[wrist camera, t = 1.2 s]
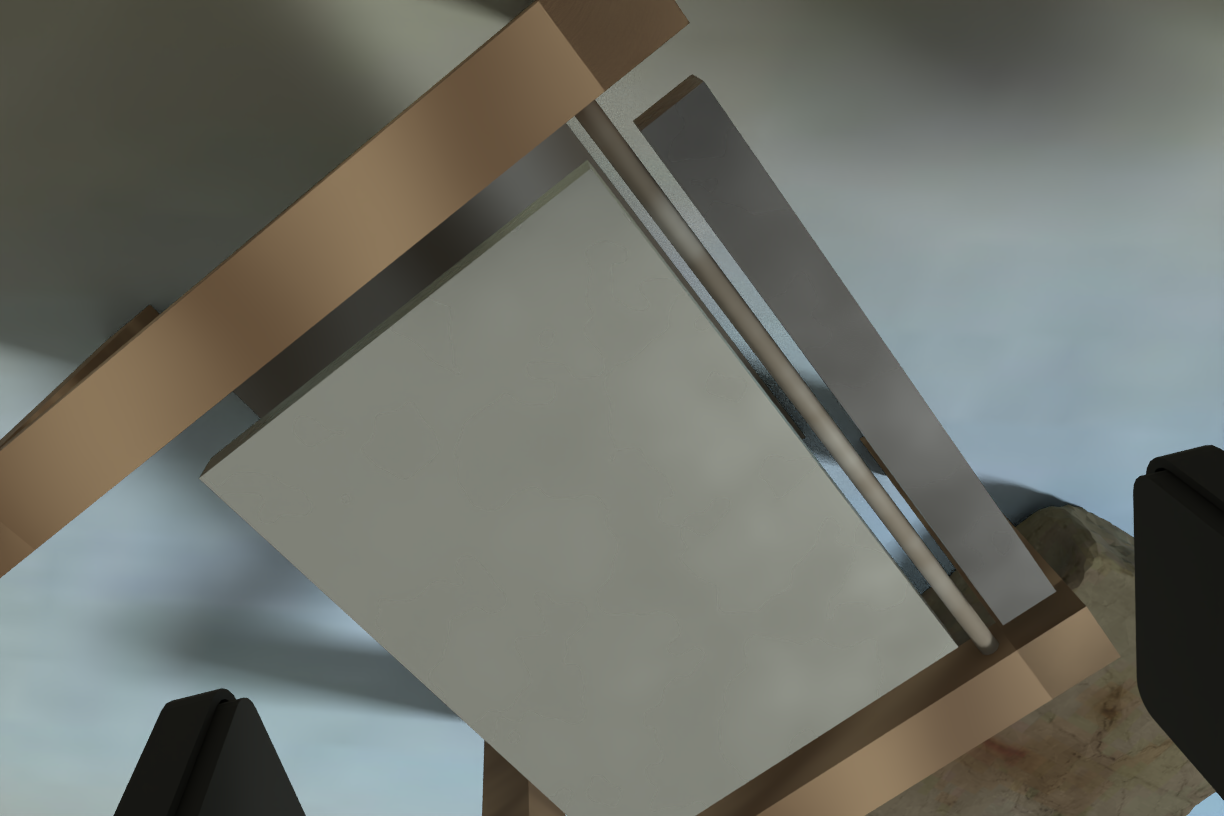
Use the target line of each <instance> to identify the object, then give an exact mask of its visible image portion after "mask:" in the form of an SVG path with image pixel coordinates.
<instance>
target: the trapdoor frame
mask: <svg viewBox="0 0 1224 816" xmlns="http://www.w3.org/2000/svg"><path fill="white" fill-rule="evenodd" d="M689 23H690V22H689V21H688V20H687V18H686V17H685V15H684V14H683V12H682V11H681V9H680V8H679V6H678V5H677V3H676V2H675V0H535V1H534V2H533V3H532V4H531V5H530V6H528V7H527V8H526V9H525V10H524V11H522V12H521V13H520V14H519V15H518V16H516V17H515V18H514V19H513V20H512V21H510V22H509V23H508V24H507V25H506V26H504V27H503V28H502V29H501V30H500V31H498V32H497V33H496V34H495V35H494V36H492V37H491V38H490V39H489V40H488V41H486V42H485V43H484V44H483V45H482V46H480V47H479V48H478V49H477V50H476V51H474V52H473V53H472V54H471V55H470V56H469V57H467V58H466V59H465V60H464V61H463V62H461V63H460V64H459V65H458V66H457V67H455V68H454V69H453V70H452V71H451V72H449V73H448V74H447V75H446V76H445V77H443V78H442V79H441V80H440V81H439V82H437V83H436V84H435V85H434V86H433V87H431V88H430V89H429V90H428V91H427V92H425V93H424V94H423V95H422V96H421V97H419V98H418V99H417V100H416V101H415V102H414V103H412V104H411V105H410V106H409V107H408V108H406V109H405V110H404V111H403V112H402V113H400V114H399V115H398V116H397V117H396V118H394V119H393V120H392V121H391V122H390V123H388V124H387V125H386V126H385V127H384V128H382V129H381V130H380V131H379V132H378V133H376V134H375V135H374V136H373V137H372V138H370V139H369V140H368V141H367V142H366V143H364V144H363V145H362V146H361V147H360V148H358V149H357V150H356V151H355V152H354V153H353V154H351V155H350V156H349V157H348V158H347V159H345V160H344V161H343V162H342V163H341V164H339V165H338V166H337V167H336V168H335V169H333V170H332V171H331V172H330V173H329V174H327V175H326V176H325V177H324V178H323V179H321V180H320V181H319V182H318V183H317V184H315V185H314V186H313V187H312V188H311V189H309V190H308V191H307V192H306V193H305V194H303V195H302V196H301V197H300V198H299V199H297V200H296V201H295V202H294V203H293V204H292V205H290V206H289V207H288V208H287V209H286V210H284V211H283V212H282V213H281V214H280V215H278V216H277V217H276V218H275V219H274V220H272V221H271V222H270V223H269V224H268V225H266V226H265V227H264V228H263V229H262V230H260V231H259V232H258V233H257V234H256V235H254V236H253V237H252V238H251V239H250V240H248V241H247V242H246V243H245V244H244V245H242V246H241V247H240V248H239V249H238V250H236V251H235V252H234V253H233V254H232V255H231V256H229V257H228V258H227V259H226V260H225V261H223V262H222V263H221V264H220V265H219V266H217V267H216V268H215V269H214V270H213V271H211V272H210V273H209V274H208V275H207V276H205V277H204V278H203V279H202V280H201V281H199V282H198V283H197V284H196V285H195V286H193V287H192V288H191V289H190V290H189V291H187V292H186V293H185V294H184V295H183V296H181V297H180V298H179V299H178V300H177V301H176V302H174V303H173V304H172V305H171V306H170V307H168V308H167V309H166V310H165V311H164V312H162V313H161V314H159V313H158V312H157V311H156V310H155V309H154V308H153V307H152V306H151V305H148V306H147V307H146V308H145V309H144V310H143V311H141V312H140V313H139V314H138V315H137V316H135V317H134V318H133V319H132V320H131V321H129V322H128V323H127V324H126V325H125V326H123V327H122V328H121V329H120V330H119V331H118V332H116V333H115V334H114V335H113V336H112V337H110V338H109V339H108V340H107V341H106V342H105V343H103V344H102V345H101V346H100V347H99V348H98V349H97V350H96V351H95V352H94V353H93V354H92V355H91V356H90V357H89V358H87V359H86V360H85V361H84V362H83V363H82V364H81V365H80V366H79V367H78V368H77V369H76V370H75V371H74V372H73V373H71V374H70V375H69V376H68V377H67V378H66V379H65V380H64V381H63V382H62V383H61V384H60V385H59V386H58V387H56V388H55V389H54V390H53V391H52V392H51V393H50V394H49V395H48V396H47V397H46V398H45V399H44V400H43V401H42V402H40V403H39V404H38V405H37V406H36V407H35V408H34V409H33V410H32V411H31V412H30V413H29V414H28V415H27V416H26V417H24V418H23V419H22V420H21V421H20V422H19V423H18V424H17V425H16V426H15V427H14V428H13V429H12V430H11V431H10V432H8V433H7V434H6V435H5V436H4V437H3V438H2V439H1V440H0V578H1V577H2V576H3V575H5V574H6V573H7V572H8V571H10V570H11V569H12V568H13V567H15V566H16V565H17V564H18V563H20V562H21V561H22V560H23V559H24V558H26V557H27V556H28V555H29V554H31V553H32V552H33V551H34V550H36V549H37V548H38V547H39V546H41V545H42V544H43V543H44V542H46V541H47V540H48V539H49V538H51V537H52V536H53V535H54V534H56V533H57V532H58V531H59V530H61V529H62V528H63V527H64V526H65V525H67V524H68V523H69V522H70V521H72V520H73V519H74V518H75V517H77V516H78V515H79V514H80V513H82V512H83V511H84V510H85V509H87V508H88V507H89V506H90V505H92V504H93V503H94V502H95V501H97V500H98V499H99V498H100V497H102V496H103V495H104V494H105V493H106V492H108V491H109V490H110V489H111V488H113V487H114V486H115V485H116V484H118V483H119V482H120V481H121V480H123V479H124V478H125V477H126V476H128V475H129V474H130V473H131V472H133V471H134V470H135V469H136V468H138V467H139V466H140V465H141V464H142V463H144V462H145V461H146V460H147V459H149V458H150V457H151V456H152V455H154V454H155V453H156V452H157V451H159V450H160V449H161V448H162V447H164V446H165V445H166V444H167V443H169V442H170V441H171V440H172V439H174V438H175V437H176V436H177V435H179V434H180V433H181V432H182V431H183V430H185V429H186V428H187V427H188V426H190V425H191V424H192V423H193V422H195V421H196V420H197V419H198V418H200V417H201V416H202V415H203V414H205V413H206V412H207V411H208V410H210V409H211V408H212V407H213V406H215V405H216V404H217V403H218V402H220V401H221V400H222V399H223V398H224V397H226V396H227V395H228V394H229V393H231V392H232V391H233V392H234V393H235V394H236V395H237V396H238V397H239V398H240V399H241V400H242V401H243V402H244V403H245V404H247V405H248V406H249V407H250V408H251V409H252V410H253V411H254V412H255V413H256V414H257V415H258V416H259V417H260V418H262V417H264V416H265V415H266V414H267V413H269V412H270V411H271V410H272V409H274V408H275V407H276V406H277V405H279V404H280V403H281V402H282V401H284V400H285V399H286V398H288V397H289V396H290V395H291V394H293V393H294V392H295V391H296V390H298V389H299V388H300V387H301V386H303V385H304V384H305V383H306V382H308V381H309V380H310V379H311V378H313V377H314V376H315V375H317V374H318V373H319V372H320V371H322V370H323V369H324V368H325V367H327V366H328V365H329V364H330V363H332V362H333V361H334V360H335V359H337V358H338V357H339V356H340V355H342V354H343V353H344V352H345V351H347V350H348V349H349V348H351V347H352V346H353V345H354V344H356V343H357V342H358V341H359V340H361V339H362V338H363V337H364V336H366V335H367V334H368V333H369V332H371V331H372V330H373V329H374V328H376V327H377V326H378V325H380V324H381V323H382V322H383V321H385V320H386V319H387V318H388V317H390V316H391V315H392V314H393V313H395V312H396V311H397V310H398V309H400V308H401V307H402V306H403V305H405V304H406V303H407V302H408V301H410V300H411V299H412V298H414V297H415V296H416V295H417V294H419V293H420V292H421V291H422V290H424V289H425V288H426V287H427V286H429V285H430V284H431V283H432V282H434V281H435V280H436V279H437V278H439V277H440V276H441V275H443V274H444V273H445V272H446V271H448V270H449V269H450V268H451V267H453V266H454V265H455V264H456V263H458V262H459V261H460V260H461V259H463V258H464V257H465V256H466V255H468V254H469V253H470V252H471V251H473V250H474V249H475V248H477V247H478V246H479V245H480V244H482V243H483V242H484V241H485V240H487V239H488V238H489V237H490V236H492V235H493V234H494V233H495V232H497V231H498V230H499V229H500V228H502V227H503V226H504V225H506V224H507V223H508V222H509V221H511V220H512V219H513V218H514V217H516V216H517V215H518V214H519V213H521V212H522V211H523V210H524V209H526V208H527V207H528V206H529V205H531V204H532V203H533V202H534V201H536V200H537V199H538V198H540V197H541V196H542V195H543V194H545V193H546V192H547V191H548V190H550V189H551V188H552V187H553V186H555V185H556V184H557V183H558V182H560V181H561V180H562V179H563V178H565V177H566V176H567V175H569V174H570V173H571V172H572V171H574V170H575V169H576V168H577V167H579V166H580V165H581V164H582V163H584V162H585V161H586V160H588V161H589V163H590V164H591V165H592V166H593V168H594V169H595V170H596V172H597V173H598V174H599V176H600V177H601V178H602V179H603V181H604V182H605V183H606V185H607V186H608V187H609V189H610V190H611V191H612V193H613V194H614V195H615V196H616V198H617V199H618V200H619V202H620V203H621V204H622V206H623V207H624V208H625V209H626V211H627V212H628V213H629V215H630V216H631V217H632V219H633V220H634V221H635V223H636V224H637V225H638V226H639V228H640V229H641V230H642V232H643V233H644V234H645V236H646V237H647V238H648V240H649V241H650V242H651V243H652V245H653V246H654V247H655V249H656V250H657V251H658V253H659V254H660V255H661V256H662V258H663V259H664V260H665V262H666V263H667V264H668V266H669V267H670V268H671V270H672V271H673V272H674V273H675V275H676V276H677V277H678V279H679V280H680V281H681V283H682V284H683V285H684V286H685V288H686V289H687V290H688V292H689V293H690V294H691V296H692V297H693V298H694V300H695V301H696V302H697V303H698V305H699V306H700V307H701V309H702V310H703V311H704V313H705V314H706V315H707V316H708V318H709V319H710V320H711V322H712V323H713V324H714V326H715V327H716V328H717V330H718V331H719V332H720V333H721V335H722V336H723V337H724V339H725V340H726V341H727V343H728V344H729V345H730V346H731V348H732V349H733V350H734V352H735V353H736V354H737V356H738V357H739V358H740V360H741V361H742V362H743V363H744V365H745V366H746V367H747V369H748V370H749V371H750V373H751V374H752V375H753V377H754V378H755V379H756V380H757V382H758V383H759V384H760V386H761V387H762V388H763V390H764V391H765V392H766V393H767V395H768V396H769V397H770V399H771V400H772V401H773V403H774V404H775V405H776V407H777V408H778V409H779V410H780V412H781V413H782V414H783V416H784V417H785V418H786V420H787V421H788V422H789V423H790V425H791V426H792V427H793V429H794V430H795V431H796V433H797V434H798V435H799V437H800V438H801V439H804V438H805V436H804V434H803V433H802V432H801V430H800V429H799V428H798V426H797V425H796V424H795V422H794V421H793V420H792V418H791V417H790V416H789V414H788V413H787V412H786V411H785V409H784V408H783V407H782V405H781V404H780V403H779V401H778V400H777V399H776V397H775V396H774V395H773V394H772V392H771V391H770V390H769V388H768V387H767V386H766V384H765V383H764V382H763V380H762V379H761V378H760V377H759V375H758V374H757V373H756V371H755V370H754V369H753V367H752V366H751V365H750V363H749V362H748V361H747V359H746V358H745V357H744V356H743V354H742V353H741V352H740V350H739V349H738V348H737V346H736V345H735V344H734V342H733V341H732V340H731V339H730V337H729V336H728V335H727V333H726V332H725V331H724V329H723V328H722V327H721V325H720V324H719V323H718V321H717V320H716V319H715V318H714V316H713V315H712V314H711V312H710V311H709V310H708V308H707V307H706V306H705V304H704V303H703V302H702V301H701V299H700V298H699V297H698V295H697V294H696V293H695V291H694V290H693V289H692V287H691V286H690V285H689V284H688V282H687V281H686V280H685V278H684V277H683V276H682V274H681V273H680V272H679V270H678V269H677V268H676V266H675V265H674V264H673V263H672V261H671V260H670V259H669V257H668V256H667V255H666V253H665V252H664V251H663V249H662V248H661V247H660V246H659V244H658V243H657V242H656V240H655V239H654V238H653V236H652V235H651V234H650V232H649V231H648V230H647V228H646V227H645V226H644V225H643V223H642V222H641V221H640V219H639V218H638V217H637V215H636V214H635V213H634V211H633V210H632V209H631V208H630V206H629V205H628V204H627V202H626V201H625V200H624V198H623V197H622V196H621V194H620V193H619V192H618V191H617V189H616V188H615V187H614V185H613V184H612V183H611V181H610V180H609V179H608V177H607V176H606V175H605V173H604V172H603V171H602V170H601V168H600V167H599V166H598V164H597V163H596V162H595V160H594V159H593V158H592V156H591V155H590V154H589V153H588V151H587V150H586V149H585V147H584V146H583V145H582V143H581V142H580V141H579V139H578V138H577V137H576V135H575V134H574V133H573V132H572V130H571V129H570V128H569V126H568V125H567V124H566V122H567V121H569V120H570V119H571V118H572V117H574V116H575V117H576V118H577V119H578V121H579V122H580V123H581V125H582V126H583V127H584V129H585V130H586V131H587V133H588V134H589V135H590V137H591V138H592V139H593V141H594V142H595V143H596V145H597V146H598V147H599V149H600V150H601V151H602V153H603V154H604V155H605V156H606V158H607V159H608V160H609V162H610V163H611V164H612V166H613V167H614V168H615V170H616V171H617V172H618V174H619V175H620V176H621V178H622V179H623V180H624V182H625V183H626V184H627V186H628V187H629V188H630V189H631V191H632V192H633V193H634V195H635V196H636V197H637V199H638V200H639V201H640V203H641V204H642V205H643V207H644V208H645V209H646V211H647V212H648V213H649V215H650V216H651V217H652V219H653V220H654V221H655V223H656V224H657V225H658V226H659V228H660V229H661V230H662V232H663V233H664V234H665V236H666V237H667V238H668V240H669V241H670V242H671V244H672V245H673V246H674V248H675V249H676V250H677V252H678V253H679V254H680V256H681V257H682V258H683V259H684V261H685V262H686V263H687V265H688V266H689V267H690V269H691V270H692V271H693V273H694V274H695V275H696V277H697V278H698V279H699V281H700V282H701V283H702V285H703V286H704V287H705V289H706V290H707V291H708V292H709V294H710V295H711V296H712V298H713V299H714V300H715V302H716V303H717V304H718V306H719V307H720V308H721V310H722V311H723V312H724V314H725V315H726V316H727V318H728V319H729V320H730V322H731V323H732V324H733V326H734V327H735V328H736V329H737V331H738V332H739V333H740V335H741V336H742V337H743V339H744V340H745V341H746V343H747V344H748V345H749V347H750V348H751V349H752V351H753V352H754V353H755V355H756V356H757V357H758V359H759V360H760V361H761V362H762V364H763V365H764V366H765V368H766V369H767V370H768V372H769V373H770V374H771V376H772V377H773V378H774V380H775V381H776V382H777V384H778V385H779V386H780V388H781V389H782V390H783V392H784V393H785V394H786V395H787V397H788V398H789V399H790V401H791V402H792V403H793V405H794V406H795V407H796V409H797V410H798V411H799V413H800V414H801V415H802V417H803V418H804V419H805V421H806V422H807V423H808V425H809V426H810V427H811V429H812V430H813V431H814V432H815V434H816V435H817V436H818V438H819V439H820V440H821V442H822V443H823V444H824V446H825V447H826V448H827V450H828V451H829V452H830V454H831V455H832V456H833V458H834V459H835V460H836V462H837V463H838V464H839V465H840V467H841V468H842V469H843V471H844V472H845V473H846V475H847V476H848V477H849V479H850V480H851V481H852V483H853V484H854V485H855V487H856V488H857V489H858V491H859V492H860V493H861V495H862V496H863V497H864V499H865V500H866V501H867V502H868V504H869V505H870V506H871V508H872V509H873V510H874V512H875V513H876V514H877V516H878V517H879V518H880V520H881V521H882V522H883V524H884V525H885V526H886V528H887V529H888V530H889V532H890V533H891V534H892V535H893V537H894V538H895V539H896V541H897V542H898V543H899V545H900V546H901V547H902V549H903V550H904V551H905V553H906V554H907V555H908V557H909V558H910V559H911V561H912V562H913V563H914V565H915V566H916V567H917V568H918V570H919V571H920V572H921V574H922V575H923V576H924V578H925V579H926V580H927V582H928V583H929V584H930V586H931V587H932V588H933V590H934V591H935V592H936V594H937V595H938V596H939V598H940V599H941V600H942V602H943V603H944V604H945V605H946V607H947V608H948V609H949V611H950V612H951V613H952V615H953V616H954V617H955V619H956V620H957V621H958V623H959V624H960V625H961V627H962V628H963V629H964V631H965V632H966V633H967V635H968V636H969V637H970V638H971V639H970V640H968V641H966V642H965V643H963V644H962V645H960V646H959V647H958V648H956V649H955V650H953V651H952V652H950V653H948V654H947V655H945V656H944V657H942V658H941V659H939V660H938V661H936V662H934V663H933V664H931V665H930V666H928V667H927V668H925V669H924V670H922V671H920V672H919V673H917V674H916V675H914V676H913V677H911V678H910V679H908V680H906V681H905V682H903V683H902V684H900V685H899V686H897V687H895V688H894V689H892V690H891V691H889V692H888V693H886V694H885V695H883V696H881V697H880V698H878V699H877V700H875V701H874V702H872V703H871V704H869V705H867V706H866V707H864V708H863V709H861V710H860V711H858V712H856V713H855V714H853V715H852V716H850V717H849V718H847V719H846V720H844V721H842V722H841V723H839V724H838V725H836V726H835V727H833V728H832V729H830V730H828V731H827V732H825V733H824V734H822V735H821V736H819V737H818V738H816V739H814V740H813V741H811V742H810V743H808V744H807V745H805V746H803V747H802V748H800V749H799V750H797V751H796V752H794V753H793V754H791V755H789V756H788V757H786V758H785V759H783V760H782V761H780V762H779V763H777V764H775V765H774V766H772V767H771V768H769V769H768V770H766V771H765V772H763V773H761V774H760V775H758V776H757V777H755V778H754V779H752V780H750V781H749V782H747V783H746V784H744V785H743V786H741V787H740V788H738V789H736V790H735V791H733V792H732V793H730V794H729V795H727V796H726V797H724V798H722V799H721V800H719V801H718V802H716V803H715V804H713V805H711V806H710V807H708V808H707V809H705V810H704V811H702V812H701V813H699V814H697V815H696V816H865V815H866V814H868V813H870V812H871V811H873V810H875V809H876V808H878V807H879V806H881V805H883V804H884V803H886V802H887V801H889V800H891V799H892V798H894V797H895V796H897V795H899V794H900V793H902V792H904V791H905V790H907V789H908V788H910V787H912V786H913V785H915V784H916V783H918V782H920V781H921V780H923V779H925V778H926V777H928V776H929V775H931V774H933V773H934V772H936V771H937V770H939V769H941V768H942V767H944V766H946V765H947V764H949V763H950V762H952V761H954V760H955V759H957V758H958V757H960V756H962V755H963V754H965V753H966V752H968V751H970V750H971V749H973V748H975V747H976V746H978V745H979V744H981V743H983V742H984V741H986V740H987V739H989V738H991V737H992V736H994V735H996V734H997V733H999V732H1000V731H1002V730H1004V729H1005V728H1007V727H1008V726H1010V725H1012V724H1013V723H1015V722H1016V721H1018V720H1020V719H1021V718H1023V717H1025V716H1026V715H1028V714H1029V713H1031V712H1033V711H1034V710H1036V709H1037V708H1039V707H1041V706H1042V705H1044V704H1046V703H1047V702H1049V701H1050V700H1052V699H1054V698H1055V697H1057V696H1058V695H1060V694H1062V693H1063V692H1065V691H1067V690H1068V689H1070V688H1071V687H1073V686H1075V685H1076V684H1078V683H1079V682H1081V681H1083V680H1084V679H1086V678H1087V677H1089V676H1091V675H1092V674H1094V673H1096V672H1097V671H1099V670H1100V669H1102V668H1104V667H1105V666H1107V665H1108V664H1110V663H1112V662H1113V661H1115V660H1117V659H1118V658H1120V657H1121V656H1120V655H1119V654H1118V652H1117V651H1116V649H1115V648H1114V646H1113V645H1112V643H1111V642H1110V640H1109V639H1108V637H1107V636H1106V634H1105V633H1104V631H1103V630H1102V628H1101V627H1100V626H1099V624H1098V623H1097V621H1096V620H1095V618H1094V617H1093V615H1092V614H1091V612H1090V611H1089V609H1088V608H1087V606H1086V605H1085V604H1084V603H1083V602H1082V601H1081V600H1080V599H1079V598H1078V596H1077V595H1076V594H1075V593H1074V592H1073V591H1072V590H1071V589H1070V588H1069V586H1068V585H1067V584H1066V583H1065V582H1064V581H1063V580H1062V579H1061V578H1060V576H1059V575H1058V574H1057V573H1056V572H1055V571H1054V570H1053V569H1052V568H1051V566H1050V565H1049V564H1048V563H1047V562H1046V561H1045V560H1044V559H1043V558H1042V556H1041V555H1040V554H1039V553H1038V552H1037V551H1036V550H1035V549H1034V548H1033V546H1032V545H1031V544H1030V543H1029V542H1028V541H1027V540H1026V539H1025V538H1024V536H1023V535H1022V534H1021V533H1020V532H1019V531H1018V530H1017V529H1016V528H1015V527H1014V525H1013V524H1012V523H1011V522H1010V521H1009V520H1008V519H1007V518H1006V517H1005V518H1006V519H1007V521H1008V522H1009V524H1010V525H1011V527H1012V528H1013V530H1014V531H1015V532H1016V534H1017V535H1018V537H1019V538H1020V540H1021V541H1022V543H1023V544H1024V545H1025V547H1026V548H1027V550H1028V551H1029V553H1030V554H1031V556H1032V557H1033V558H1034V560H1035V561H1036V563H1037V564H1038V566H1039V567H1040V569H1041V570H1042V571H1043V573H1044V574H1045V576H1046V577H1047V579H1048V580H1049V582H1050V583H1051V585H1052V586H1053V587H1054V589H1055V590H1056V592H1055V593H1053V594H1052V595H1050V596H1048V597H1047V598H1045V599H1044V600H1042V601H1041V602H1039V603H1037V604H1036V605H1034V606H1033V607H1031V608H1030V609H1028V610H1027V611H1025V612H1023V613H1022V614H1020V615H1019V616H1017V617H1016V618H1014V619H1012V620H1011V621H1009V622H1008V623H1006V624H1005V625H1003V624H1002V623H1001V622H1000V620H999V619H998V618H997V616H996V615H995V614H994V612H993V611H992V610H991V608H990V607H989V606H988V604H987V603H986V602H985V600H984V599H983V598H982V596H981V595H980V594H979V592H978V591H977V590H976V588H975V587H974V585H973V584H972V583H971V581H970V580H969V579H968V577H967V576H966V575H965V573H964V572H963V570H962V569H961V568H960V566H959V565H958V564H957V562H956V561H955V560H954V558H953V557H952V555H951V554H950V553H949V551H948V550H947V549H946V547H945V546H944V545H943V543H942V542H941V541H940V539H939V538H938V536H937V535H936V534H935V532H934V531H933V530H932V528H931V527H930V526H929V524H928V523H927V521H926V520H925V519H924V517H923V516H922V515H921V513H920V512H919V511H918V509H917V508H916V506H915V505H914V504H913V502H912V501H911V500H910V498H909V497H908V496H907V494H906V493H905V491H904V490H903V489H902V487H901V486H900V485H899V483H898V482H897V481H896V479H895V478H894V476H893V475H892V474H891V472H890V471H889V470H888V468H887V467H886V466H885V464H884V463H883V461H882V460H881V459H880V457H879V456H878V455H877V453H876V452H875V451H874V449H873V448H872V446H871V445H870V444H869V442H868V441H867V440H866V438H865V437H864V436H863V437H862V438H860V440H861V441H862V443H863V444H864V445H865V447H866V448H867V449H868V451H869V452H870V453H871V455H872V456H873V458H874V459H875V460H876V462H877V463H878V464H879V466H880V467H881V468H882V470H883V471H884V472H885V474H886V475H887V477H888V478H889V479H890V481H891V482H892V483H893V485H894V486H895V487H896V489H897V490H898V491H899V493H900V494H901V495H902V497H903V498H904V499H905V501H906V502H907V504H908V505H909V506H910V508H911V509H912V510H913V512H914V513H915V514H916V516H917V517H918V518H919V520H920V521H921V522H922V524H923V525H924V526H925V528H926V529H927V531H928V532H929V533H930V535H931V536H932V537H933V539H934V540H935V541H936V543H937V544H938V545H939V547H940V548H941V549H942V551H943V552H944V553H945V555H946V556H947V558H948V559H949V560H950V562H951V563H952V564H953V566H954V567H955V568H956V570H957V571H958V572H959V574H960V575H961V576H962V578H963V579H964V580H965V582H966V583H967V585H968V586H969V587H970V589H971V590H972V591H973V593H974V594H975V595H976V597H977V598H978V599H979V601H980V602H981V603H982V605H983V606H984V607H985V609H986V610H987V612H988V613H989V614H990V616H991V617H992V618H993V620H994V621H995V622H996V623H995V624H993V625H991V626H990V627H988V628H987V627H986V625H985V624H984V623H983V621H982V620H981V619H980V617H979V616H978V614H977V613H976V612H975V610H974V609H973V608H972V606H971V605H970V604H969V602H968V601H967V600H966V598H965V597H964V596H963V594H962V593H961V592H960V590H959V589H958V588H957V586H956V585H955V584H954V582H953V581H952V580H951V578H950V577H949V575H948V574H947V573H946V571H945V570H944V569H943V567H942V566H941V565H940V563H939V562H938V561H937V559H936V558H935V557H934V555H933V554H932V553H931V551H930V550H929V549H928V547H927V546H926V545H925V543H924V542H923V541H922V539H921V538H920V536H919V535H918V534H917V532H916V531H915V530H914V528H913V527H912V526H911V524H910V523H909V522H908V520H907V519H906V518H905V516H904V515H903V514H902V512H901V511H900V510H899V508H898V507H897V506H896V504H895V503H894V501H893V500H892V499H891V497H890V496H889V495H888V493H887V492H886V491H885V489H884V488H883V487H882V485H881V484H880V483H879V481H878V480H877V479H876V477H875V476H874V475H873V473H872V472H871V471H870V469H869V468H868V467H867V465H866V464H865V462H864V461H863V460H862V458H861V457H860V456H859V454H858V453H857V452H856V450H855V449H854V448H853V446H852V445H851V444H850V442H849V441H848V440H847V438H846V437H845V436H844V434H843V433H842V432H841V430H840V429H839V427H838V426H837V425H836V423H835V422H834V421H833V419H832V418H831V417H830V415H829V414H828V413H827V411H826V410H825V409H824V407H823V406H822V405H821V403H820V402H819V401H818V399H817V398H816V397H815V395H814V394H813V393H812V391H811V390H810V388H809V387H808V386H807V384H806V383H805V382H804V380H803V379H802V378H801V376H800V375H799V374H798V372H797V371H796V370H795V368H794V367H793V366H792V364H791V363H790V362H789V360H788V359H787V358H786V356H785V355H784V353H783V352H782V351H781V349H780V348H779V347H778V345H777V344H776V343H775V341H774V340H773V339H772V337H771V336H770V335H769V333H768V332H767V331H766V329H765V328H764V327H763V325H762V324H761V323H760V321H759V320H758V319H757V317H756V316H755V314H754V313H753V312H752V310H751V309H750V308H749V306H748V305H747V304H746V302H745V301H744V300H743V298H742V297H741V296H740V294H739V293H738V292H737V290H736V289H735V288H734V286H733V285H732V284H731V282H730V281H729V280H728V278H727V277H726V275H725V274H724V273H723V271H722V270H721V269H720V267H719V266H718V265H717V263H716V262H715V261H714V259H713V258H712V257H711V255H710V254H709V253H708V251H707V250H706V249H705V247H704V246H703V245H702V243H701V242H700V240H699V239H698V238H697V236H696V235H695V234H694V232H693V231H692V230H691V228H690V227H689V226H688V224H687V223H686V222H685V220H684V219H683V218H682V216H681V215H680V214H679V212H678V211H677V210H676V208H675V207H674V206H673V204H672V203H671V201H670V200H669V199H668V197H667V196H666V195H665V193H664V192H663V191H662V189H661V188H660V187H659V185H658V184H657V183H656V181H655V180H654V179H653V177H652V176H651V175H650V173H649V172H648V171H647V169H646V168H645V166H644V165H643V164H642V162H641V161H640V160H639V158H638V157H637V156H636V154H635V153H634V152H633V150H632V149H631V148H630V146H629V145H628V144H627V142H626V141H625V140H624V138H623V137H622V136H621V134H620V133H619V132H618V130H617V129H616V127H615V126H614V125H613V123H612V122H611V121H610V119H609V118H608V117H607V115H606V114H605V113H604V111H603V110H602V109H601V107H600V106H599V105H598V103H597V102H596V101H595V99H596V98H597V97H598V96H600V95H601V94H602V93H603V92H605V91H606V90H607V89H608V88H610V87H611V86H612V85H613V84H615V83H616V82H617V81H618V80H619V79H621V78H622V77H623V76H624V75H626V74H627V73H628V72H629V71H631V70H632V69H633V68H634V67H636V66H637V65H638V64H639V63H641V62H642V61H643V60H644V59H646V58H647V57H648V56H649V55H651V54H652V53H653V52H654V51H656V50H657V49H658V48H659V47H660V46H662V45H663V44H664V43H665V42H667V41H668V40H669V39H670V38H672V37H673V36H674V35H675V34H677V33H678V32H679V31H680V30H682V29H683V28H684V27H685V26H687V25H688V24H689ZM1002 514H1003V513H1002ZM1003 515H1004V514H1003ZM1004 516H1005V515H1004ZM482 816H565V813H564V812H563V811H562V810H561V809H559V808H558V807H557V806H556V805H555V804H554V803H553V802H552V801H551V800H550V799H549V798H547V797H546V796H545V795H544V794H543V793H542V792H541V791H540V790H539V789H538V788H537V787H535V786H534V785H533V784H532V783H531V782H530V781H529V780H528V779H527V778H526V777H525V776H523V775H522V774H521V773H520V772H519V771H518V770H517V769H516V768H515V767H514V766H512V765H511V764H510V763H509V762H508V761H507V760H506V759H505V758H504V757H503V756H502V755H500V754H499V753H498V752H497V751H496V750H495V749H494V748H493V747H492V746H491V745H490V744H488V743H487V742H486V741H485V740H484V772H483V804H482Z"/></svg>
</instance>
